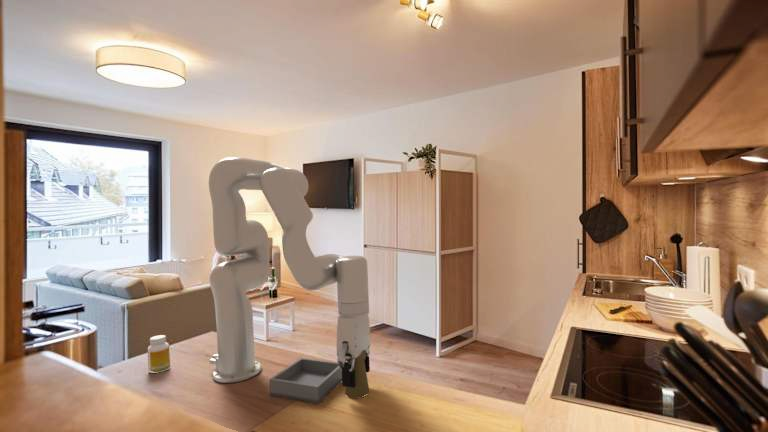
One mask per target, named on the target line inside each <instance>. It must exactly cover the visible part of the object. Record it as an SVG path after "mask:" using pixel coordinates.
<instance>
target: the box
mask: <svg viewBox="0 0 768 432" xmlns="http://www.w3.org/2000/svg"><path fill="white" fill-rule="evenodd" d="M268 380H269V395H270V396H272V397H277V398H282V399H286V400H287V399H288V400H293V401H299V402H306V403H309V402H310V403H311V404H316V405H318V404H320V403H321V402H322V401H324V399H325V398H326V397H328V396H329V394H331V393H332V392H333V391H334V390H335V389H336V388H337V387H338V386H339V385H340V384H341V383H342V382H341V381H342V370H341V367H340V366H339V363H338V361H329V360H323V359H322V360H321V359H314V358H306V357H299V358H298V359H297V360H295V361H293V362H292V363H291V364H290V365H288V366H287V367H285V368H284V369H282V370H281V371H280V372H278V373H276V374H275V375H274V376H272V377H271V378H269V379H268ZM340 382H341V383H340ZM339 383H340V384H339ZM338 384H339V385H338ZM337 385H338V386H337ZM336 386H337V387H336ZM335 387H336V388H335ZM334 388H335V389H334ZM333 389H334V390H333ZM332 390H333V391H332ZM331 391H332V392H331Z"/></svg>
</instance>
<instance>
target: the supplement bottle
mask: <svg viewBox="0 0 768 432" xmlns="http://www.w3.org/2000/svg"><path fill="white" fill-rule="evenodd" d="M149 344H150V345H149V346H148V347H147V362H148V363H147V364H148V365H147V366H148V371H149V370H150V371H153V372H161V371H164V370H166V369H168V368H169V367H170V368H171V357H170V356H171V355H170V354H171V353H170V344H169V342H167V336H166V335H164V334H160V335H159V334H158V335H154V336H151V337H150V338H149ZM170 368H169V369H170ZM169 369H168V370H169Z"/></svg>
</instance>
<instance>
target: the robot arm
mask: <svg viewBox="0 0 768 432" xmlns="http://www.w3.org/2000/svg"><path fill="white" fill-rule="evenodd" d="M208 189H209V194H210V200H211V207H212V227H213V230H212V232H213V242H214V248H215V250H216V252H217V253H218V254H219V255H221V256H227V257H228V256H238V255H241V258H235V259H230V260H226V261H224V262H220V263H218V264H217V265H216V266H214V268H213V269H212V270H211V273H210V274H209V285H210V289H211V292H212V296H213V300H214V302H213V303H214V309H215V322H216V324H215V325H216V339H217V340H216V341H217V344H216V346H217V353H214V354H213V356H212V358H210V360H209V364H210V365H215V369H214V370H213V372H212V379H213V380H214V381H215V382H217V383H225V384H226V383H227V384H228V383H229V384H231V383H238V382H242V381H246V380H248V379H250V378H251V379H252V378H253V377H254V376H256V375H258V374H259V373H260V372H261V370H262V364H261V362H260V361H257V360H256V356H255V353H256V352H255V336H254V315H253V306H252V303H251V301H250V299H249V297H248V295H247V293H246V292H248V291H252V290H254V289H257V288H260V287H261V286H263V285H264V284H266V282H267V281H268V279H269V277H270V269H271V268H270V250H269V249H270V248H269V247H270V245H269V235H268V231H267V230H266V228H265V226H264V225H263V224H262V223H261V222H259V221H257V220H254V219H247V213H246V210H247V209H246V204H245V200H244V199H243V196H242V195H241V193H240V190H251V191H262V193H263V196H264V197H265V199H266V201H267V203H268V205H269V207H270V209H271V210H272V212H273V213H274V216H275V217H276V220H277V222H278V223H279V225H280V228H281V229H282V236H281V237H282V238H281V243H282V244H281V245H282V246H281V247H282V254H283V257H284V261H285V262H286V265H287V267H288V269H289V270H290V272H291V274H292V276H293V278H294V279H295V281H296V282H297V283H298V284H299V286H300V287H301V288H303V289H304V290H307V291H317V290H320V289H324V288H325V287H327V286H330V285H334V284H336V287H337V288H336V289H337V315H338V318H337V325H336V326H337V327H336V357H337V359H336V362H338V363H339V366H340V367H341V370H342V382H341V383H342V384H341V385H342V386H343V387H352V388H354V387H355V386H356V382H355V370H353V368H354V362H355V358H357V357H358V356H359V355H360V354H361V353H362V351H363V350H365V351H366V359H365V360H364V362H365V368H366V373H370V371H371V369H370V368H371V367H370V353H371V352H370V346H371V337H372V335H371V328H370V327H371V326H370V316H369V313H370V299H369V296H370V295H369V276H368V275H369V273H368V272H369V271H368V260H367V259H366V257H364V256H363V255H346V256H345V255H340V254H335V253H327V254H323V255H318V256H315V254H314V253H313V251H312V250H311V247H310V245H309V243H308V240H307V228H308V225H309V224H310V223H311V222H312V220H313V218H314V214H313V211H312V210H311V208H310V206H309V205H308V202H307V201H306V199H305V198H304V197H305V196H306V195H307V193H308V191H309V181H308V179H307V177H306V175H305V174H304V173H303V172H301V170H298V169H296V168H291V167H287V166H284V165H280V164H276V163H272V162H269V161H265V160H260V159H258V160H257V159H251V158H246V157H237V156H236V157H234V156H233V157H232V156H231V157H225V158H223V159H221V160H219V161H217V162H216V163H215V164H214V165H213V166H212V168H211V170H210V173H209V176H208ZM347 354H352V357H351V356H347ZM346 359H349V360H351V361H350V365H349V363H348V362H347V361H346Z"/></svg>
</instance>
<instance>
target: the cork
mask: <svg viewBox="0 0 768 432" xmlns="http://www.w3.org/2000/svg"><path fill="white" fill-rule="evenodd" d="M347 356H351V357H352V354H347ZM365 359H366V351H365V350H363V351H362V353H361V354H360V355H359V356H358V357H357V358H355V362H354V368H353V370H355V382H356V386H355V387H354V388H352V387H345V386H344V387H345V388H344V396H346V395H347V396H348V397H347V396H346V397H347V398H349V397H350V399H359V398H358V397H362V396H364V395H366V394H368V393H369V394H370V386H369V381H368V373H367V372H366V368H365V362H364V360H365ZM350 361H351V360H349V359H346V362H348V363H349V365H350ZM369 394H368V395H369ZM366 396H367V395H366ZM362 398H363V397H362Z"/></svg>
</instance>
